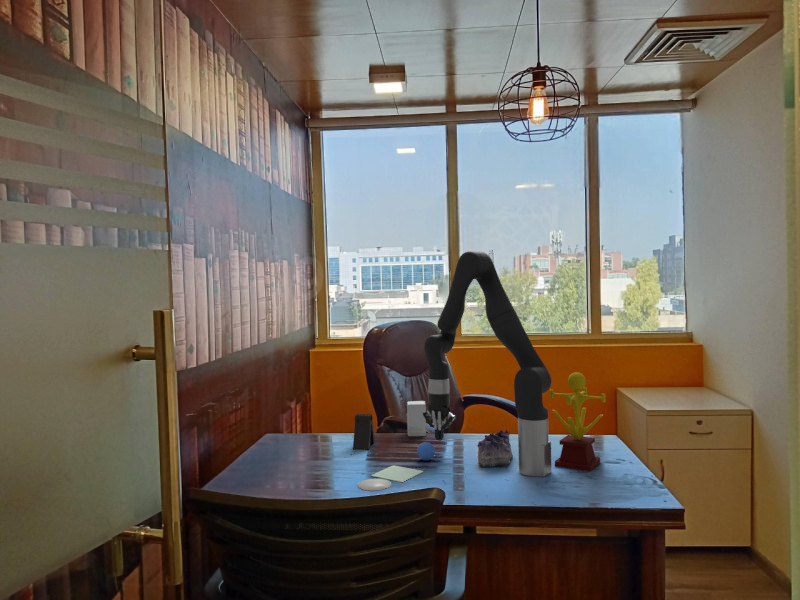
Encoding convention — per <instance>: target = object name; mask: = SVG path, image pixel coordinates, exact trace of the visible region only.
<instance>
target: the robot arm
mask: <svg viewBox="0 0 800 600" xmlns="http://www.w3.org/2000/svg"><path fill="white" fill-rule="evenodd" d="M474 280H476V282H478V285H479V286H480V289H481V290H482V293H483V296H484V300H485V301H484V302H485V315H486V319H487V322H488V323H489V325H490V328H491V329H492V331H493V333H494V335H495V337H496V338H497V339H498V340H499V342H500V343H501V344H502V345H503V346H504V347H505V348H506V349H507V350H508V352H510V353H511V354H512V355H513V357H514V358H515V360H516V362H517V364H518V366H519V368H520V369H519V370H518V371H517V372H516V373H515V376H514V379H513V389H514V406H515V410H516V412H517V430H518V435H517V436H518V437H517V440H518V446H517V447H518V473H520V474H521V475H524V476H528V477H543V478H544V477H546V476H547V475H549V474H551V472H552V442H551V441H550V440H549V410H548V408H547V407H545V406H544V402H543V394H544V393H546V392H548V391H550V389H551V386H552V376H551V374H550V372H549V370H548V368H547V367H546V365H545V364H544V362H543V360H542V359H541V357H540V356H539V354H538V352H537V351H536V349H535V348H534V346H533V344H532V342H531V339H530V338H529V335H528V333H527V332H526V330H525V328H524V325H523V324H522V322H521V320H520V317H519V315H518V313H517V312H516V310H515V308H514V306H513V305H512V303H511V301H510V299H509V296H508V294H507V292H506V290H505V288H504V286H503V285H502V282H501V280H500V278H499V275H498V272H497V270H496V267H495V264H494V261H493V260H492V258H491V256H490V255H489V254H488V253H486V252H485V251H477V250H475V251H474V250H473V251H471V250H470V251H465V252H463V253H462V254H461V255H460V256H459V258H458V260H457V263H456V266H455V270H454V274H453V278H452V282H451V286H450V290H449V293H448V296H447V299H446V301H445V304H444V306H443V309H442V311H441V314H440V315H439V318H438V321H437V325H436V326H437V328H438V329H439V330H440V331H439V334H433V335H429V336H427V338H425V341H424V345H423V347H424V349H423V351H424V355H425V359H426V362H427V366H428V386H427V391H428V392H427V395H428V397H427V399H428V401H427V402H428V407H427V410H426V412H423V416H424V418H425V419H426V423H427V424H428V425H429V427H430V428H433V430H434V438H435V440H436V441H440V442H441V441H443V439H444V437H445V436H444V435H445V430H446V429H449V428H450V427H451V425H452V423H453V422H454V421H455V420H456V419H457V416H456V415H455V414H454V413H452V412H451V408H450V405H451V403H450V400H451V399H450V398H451V396H450V395H451V389H450V388H451V387H450V373H449V372H450V368H449V364H448V362H446V361H444V360H443V358H442V355H445V354H448V353H450V352H451V350H452V349H453V347H454V345H455V341H456V336H457V335H456V334H457V330H458V327H459V325H460V323H461V321H462V318H463V316H464V313H465V308H466V296H467V291H468V289H469V287H470V285H471V284H472V282H473V281H474ZM446 419H447V420H446Z"/></svg>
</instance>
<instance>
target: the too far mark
mask: <svg viewBox="0 0 800 600" xmlns="http://www.w3.org/2000/svg"><path fill="white" fill-rule="evenodd" d="M357 487H358V488H359V489H361V490H364V491H373V492H375V491H382V490H386V489H385V488H387V489H389V488H390V487H392V482H391V480H388V479H383V478H370V479H364V480H361V481H359V482H358V484H357ZM388 487H389V488H388Z"/></svg>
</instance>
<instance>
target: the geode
mask: <svg viewBox="0 0 800 600" xmlns="http://www.w3.org/2000/svg"><path fill="white" fill-rule="evenodd" d="M476 446H477V448H478V449H477V464H478V466H481V468H486V467H496V466H497V467H498V466H499V467H500V466H503V467H504V466H506V467H507V466H509V465H511V462H510V461H512V460H513V458H514V455H513V452H512V451H513V450H512V448H511V447H512V446H511V442H510V432H509V431H508V430H507V429H505V430H504V431H503V430H502V429H500V430H499V432H497V433H494V432H491V433H489V435H487V434H485V435H484V439H482V440H481V441H478V443H477V445H476Z"/></svg>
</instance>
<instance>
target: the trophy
mask: <svg viewBox="0 0 800 600" xmlns="http://www.w3.org/2000/svg"><path fill="white" fill-rule="evenodd" d="M567 383H568V386H569V387H570V388H571V390H573V391H574V392H571V393H561V392H560V393H559V392H554V389H553V388H552V389H551V388H549V390H548V391H549V398H550V399H553V398H554V396H561V397H564V398H565V404H566V406H570V405H572V407H573V410H574V419H573V417H571V416H568V417H567V422H568V423H567V422H566V421H565V420H564V419H563V418H562V416H561V415H560V413H558V411H557V410H555V409H551V412H552V413H553V414H554V415H555V416H556V418H557V419H558V420H559V422H561V425H563V427H565V429H566V430H567V432H568V433H569V434H567V435H565V436H564V437H562V438H561V439H560V440H559V446H560V445H561V446H562V447H561V451H560V452H561V453H560V456H559V457H558V458H557V459H555V460H554V467H558V468H564V469H571V470H577V471H578V470H579V471H582V472H583V471H584V472H591V471H592V470H593V469H595V468H596V467H597V466H598V465H599V464H600V462H601V457H600V456H596V455H595V451H594V447H593V444H594V443H595V442H596V437H590V436H589V437H588V436H585V435H586V434H587V433H588V432H589V431H590V430H591V428H592V427H594V426H595V424H596V423H598V421H600V419H601V418H602V417H603V416H604V414H599V415H597V417H596V418H595V419H594V420H593V421H592V422H591V423H590V424H588V425H587V426H584V423H585V418H586V413H587V407H582V405H583V403H584V402H585V401H587V400H591V399H596V400H597V399H598V400H601V403H606V401H607V400H606V393H601V396H595V395H588V388H587V386H586V383H587V382H586V377H585V375H583V373H581V372H576V371H575V372H572V373H571V374H569V376H568V378H567ZM585 386H586V387H585Z"/></svg>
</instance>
